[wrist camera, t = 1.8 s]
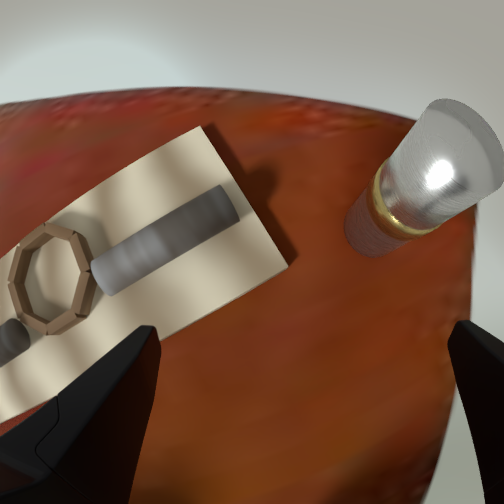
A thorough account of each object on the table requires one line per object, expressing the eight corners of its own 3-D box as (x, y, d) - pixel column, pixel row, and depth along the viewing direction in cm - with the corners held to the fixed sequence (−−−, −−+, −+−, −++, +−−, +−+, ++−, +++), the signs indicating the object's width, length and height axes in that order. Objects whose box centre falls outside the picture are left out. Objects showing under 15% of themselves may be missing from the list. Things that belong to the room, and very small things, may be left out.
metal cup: (392, 197, 23) (484, 104, 11) (403, 255, 22) (519, 195, 10) (337, 200, 23) (406, 91, 11) (347, 262, 22) (442, 196, 10)
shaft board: (201, 132, 25) (193, 105, 21) (286, 268, 22) (293, 258, 19) (-45, 309, 22) (-69, 305, 18) (-4, 425, 19) (-28, 433, 16)
